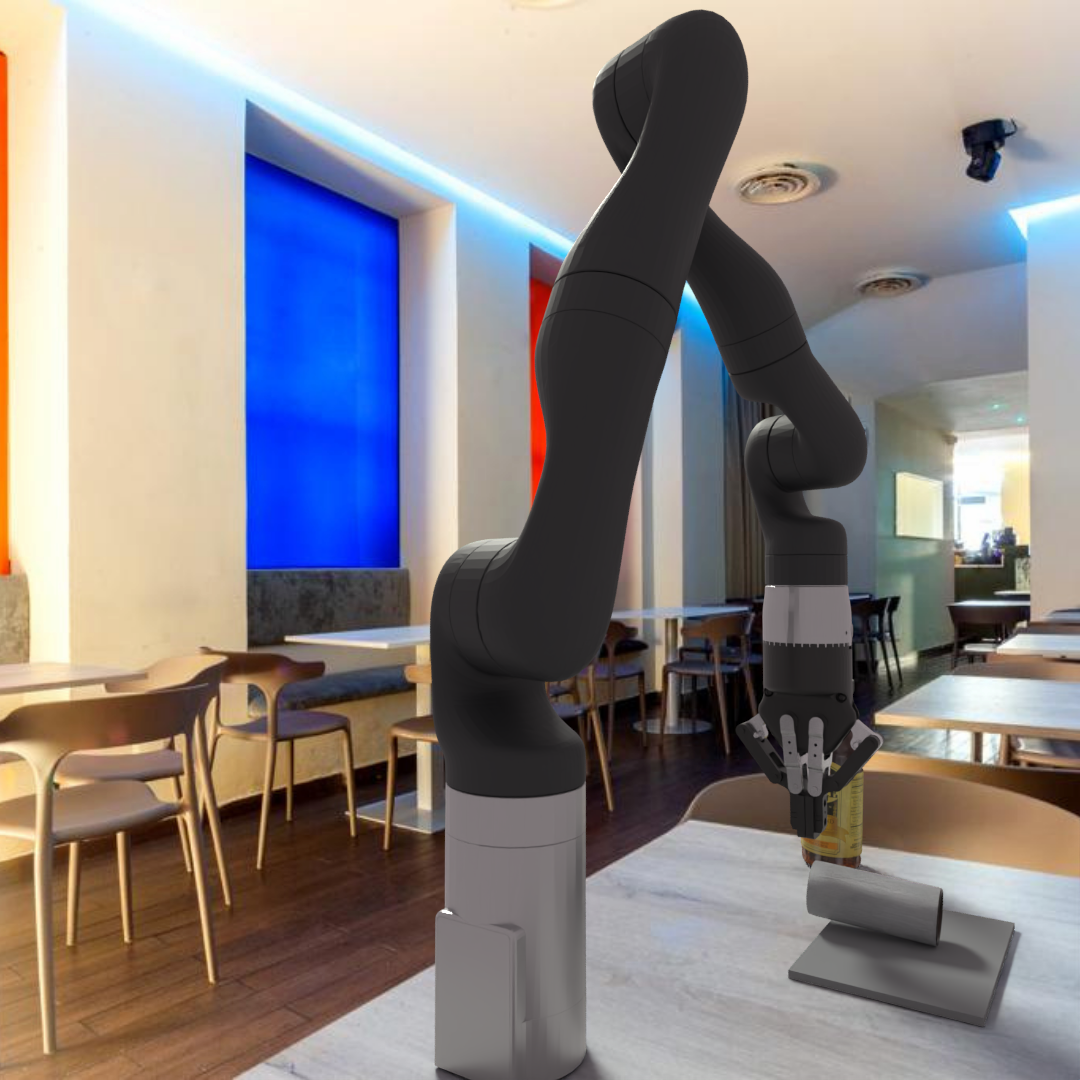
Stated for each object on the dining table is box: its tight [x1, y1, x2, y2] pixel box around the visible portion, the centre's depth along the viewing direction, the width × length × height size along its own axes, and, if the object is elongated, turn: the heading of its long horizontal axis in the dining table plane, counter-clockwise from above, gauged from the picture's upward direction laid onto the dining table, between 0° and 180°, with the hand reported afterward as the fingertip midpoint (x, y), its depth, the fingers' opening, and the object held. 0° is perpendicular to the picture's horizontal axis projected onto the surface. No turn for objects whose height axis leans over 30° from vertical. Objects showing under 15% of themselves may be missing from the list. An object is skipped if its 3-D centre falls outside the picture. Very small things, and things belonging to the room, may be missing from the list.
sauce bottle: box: [800, 678, 865, 869], centre depth 95 cm, size 7×6×20 cm
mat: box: [787, 908, 1015, 1028], centre depth 73 cm, size 20×14×1 cm
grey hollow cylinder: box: [805, 861, 944, 946], centre depth 75 cm, size 4×4×10 cm
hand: (809, 836), depth 78 cm, fingers closed
